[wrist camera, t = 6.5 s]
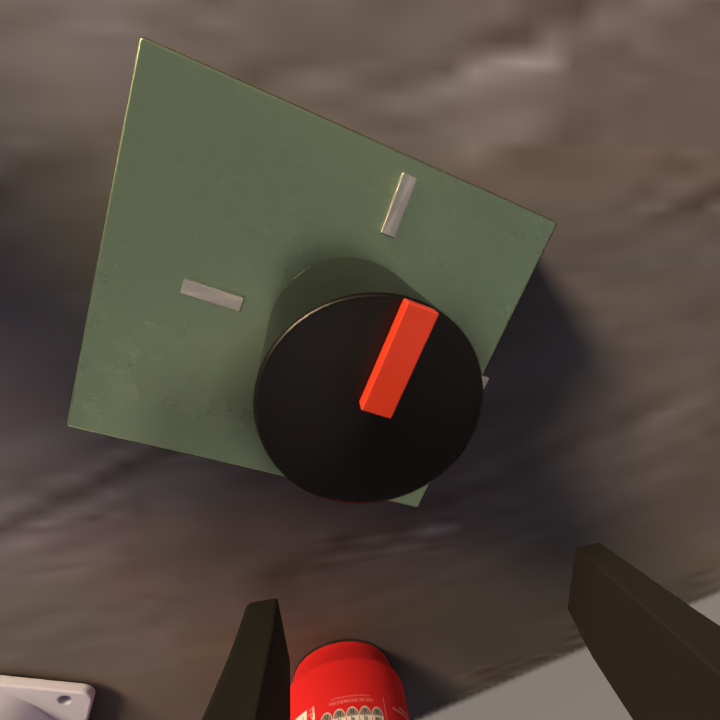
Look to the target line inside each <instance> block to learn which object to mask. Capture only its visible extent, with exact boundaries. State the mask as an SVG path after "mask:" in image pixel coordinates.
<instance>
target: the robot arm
mask: <svg viewBox="0 0 720 720" xmlns="http://www.w3.org/2000/svg"><path fill="white" fill-rule="evenodd" d="M568 610H569V612H570V614H571V616H572V618H573V620H574V622H575V624H576V626H577V628H578V630H579V632H580V634H581V636H582V638H583V640H584V642H585V644H586V645H587V647H588V649H589V651H590V653H591V655H592V656H593V658H594V659H595V661H596V663H597V664H598V666H599V668H600V669H601V671H602V672H603V674H604V675H605V677H606V678H607V680H608V681H609V683H610V685H611V686H612V688H613V689H614V691H615V692H616V694H617V695H618V697H619V699H620V700H621V702H622V703H623V705H624V706H625V708H626V709H627V711H628V712H629V714H630V715H631V717H632V718H633V720H720V626H719V625H717V624H716V623H714V622H713V621H711V620H710V619H708V618H707V617H705V616H704V615H702V614H701V613H699V612H697V611H696V610H695V609H693V608H692V607H690V606H689V605H687V604H686V603H684V602H683V601H682V600H680V599H679V598H677V597H676V596H674V595H673V594H671V593H670V592H669V591H667V590H666V589H664V588H663V587H661V586H660V585H659V584H657V583H656V582H654V581H653V580H651V579H650V578H649V577H647V576H646V575H644V574H643V573H641V572H640V571H639V570H637V569H636V568H634V567H633V566H632V565H630V564H629V563H627V562H626V561H625V560H623V559H622V558H620V557H619V556H617V555H616V554H615V553H613V552H612V551H610V550H609V549H607V548H606V547H604V546H603V545H601V544H600V543H598V544H592V545H586V546H580V547H576V550H575V558H574V565H573V573H572V581H571V588H570V596H569V604H568ZM94 697H95V689H94V688H93V687H92V686H91V685H89V684H85V683H75V682H65V681H56V680H46V679H36V678H26V677H17V676H7V675H0V720H88V719H89V715H90V712H91V708H92V704H93V701H94ZM202 720H290V660H289V655H288V650H287V645H286V640H285V635H284V630H283V625H282V620H281V615H280V610H279V605H278V600H277V598H276V599H270V600H264V601H258V602H252V603H250V604H249V605H248V606H247V607H246V609H245V612H244V616H243V619H242V622H241V625H240V628H239V630H238V633H237V636H236V639H235V642H234V644H233V647H232V650H231V652H230V655H229V657H228V660H227V662H226V665H225V667H224V670H223V672H222V675H221V677H220V679H219V681H218V684H217V686H216V688H215V691H214V693H213V695H212V698H211V700H210V702H209V705H208V707H207V709H206V712H205V714H204V716H203V718H202Z"/></svg>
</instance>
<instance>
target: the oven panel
mask: <svg viewBox="0 0 720 720" xmlns="http://www.w3.org/2000/svg"><path fill="white" fill-rule="evenodd" d="M556 225H557V223H556V222H555V221H554V220H552V219H549V218H547V217H545V216H543V215H540V214H538V213H536V212H534V211H531V210H529V209H527V208H525V207H523V206H520V205H518V204H516V203H514V202H511V201H509V200H507V199H505V198H502V197H500V196H498V195H496V194H494V193H491V192H489V191H487V190H485V189H482V188H480V187H478V186H476V185H473V184H471V183H469V182H467V181H465V180H462V179H460V178H458V177H456V176H453V175H451V174H449V173H447V172H444V171H442V170H440V169H438V168H435V167H433V166H431V165H429V164H427V163H424V162H422V161H420V160H418V159H415V158H413V157H411V156H409V155H406V154H404V153H402V152H400V151H398V150H395V149H393V148H391V147H389V146H386V145H384V144H382V143H380V142H377V141H375V140H373V139H371V138H368V137H366V136H364V135H362V134H360V133H357V132H355V131H353V130H351V129H348V128H346V127H344V126H342V125H339V124H337V123H335V122H333V121H331V120H328V119H326V118H324V117H322V116H319V115H317V114H315V113H313V112H310V111H308V110H306V109H304V108H302V107H299V106H297V105H295V104H293V103H290V102H288V101H286V100H284V99H281V98H279V97H277V96H275V95H272V94H270V93H268V92H266V91H264V90H261V89H259V88H257V87H255V86H252V85H250V84H248V83H246V82H243V81H241V80H239V79H237V78H235V77H232V76H230V75H228V74H226V73H223V72H221V71H219V70H217V69H214V68H212V67H210V66H208V65H205V64H203V63H201V62H199V61H197V60H194V59H192V58H190V57H188V56H185V55H183V54H181V53H179V52H176V51H174V50H172V49H170V48H168V47H165V46H163V45H161V44H159V43H156V42H154V41H152V40H150V39H147V38H145V37H141V38H140V40H139V44H138V49H137V54H136V59H135V65H134V70H133V75H132V80H131V86H130V91H129V96H128V101H127V107H126V112H125V117H124V122H123V128H122V133H121V138H120V143H119V149H118V154H117V159H116V164H115V170H114V175H113V180H112V185H111V191H110V196H109V201H108V206H107V212H106V217H105V222H104V227H103V233H102V238H101V243H100V248H99V254H98V259H97V264H96V269H95V275H94V280H93V285H92V290H91V296H90V301H89V306H88V311H87V317H86V322H85V327H84V332H83V338H82V343H81V348H80V353H79V359H78V364H77V369H76V375H75V380H74V385H73V390H72V396H71V401H70V406H69V411H68V417H67V422H66V425H67V426H69V427H73V428H77V429H82V430H86V431H90V432H94V433H99V434H103V435H107V436H112V437H116V438H120V439H124V440H129V441H133V442H137V443H142V444H146V445H150V446H155V447H159V448H163V449H167V450H172V451H176V452H180V453H185V454H189V455H193V456H197V457H202V458H206V459H210V460H215V461H219V462H223V463H228V464H232V465H236V466H240V467H245V468H249V469H253V470H258V471H262V472H266V473H271V474H275V475H279V476H283V477H286V476H284V475H283V474H282V473H281V471H280V470H279V469H278V468H277V467H276V466H275V465H274V464H273V462H272V461H271V460H270V458H269V457H268V455H267V454H266V452H265V450H264V448H263V446H262V444H261V442H260V440H259V437H258V434H257V431H256V428H255V422H254V417H253V395H254V386H255V382H256V377H257V373H258V368H259V364H260V360H261V355H262V351H263V346H264V342H265V337H266V333H267V328H268V324H269V320H270V316H271V312H272V310H273V308H274V305H275V303H276V301H277V300H278V298H279V296H280V295H281V293H282V292H283V291H284V289H285V288H286V287H287V286H288V285H289V284H290V283H291V282H292V281H293V280H294V279H295V278H296V277H298V276H299V275H300V274H302V273H303V272H304V271H306V270H308V269H310V268H312V267H314V266H316V265H319V264H321V263H324V262H328V261H332V260H339V259H359V260H364V261H369V262H372V263H375V264H378V265H380V266H383V267H385V268H387V269H388V270H390V271H391V272H393V273H395V274H396V275H397V276H399V277H400V278H401V279H402V280H403V281H405V282H406V283H407V284H408V285H410V286H411V287H412V288H413V289H415V290H416V291H417V292H418V293H420V294H421V295H422V296H423V297H424V298H426V299H427V300H428V301H429V302H431V303H432V304H433V305H434V306H436V307H437V308H438V309H439V310H441V311H442V312H443V313H444V314H445V315H447V316H448V317H449V318H450V319H451V320H452V321H453V322H455V323H456V324H457V325H458V327H459V328H460V329H461V330H462V331H463V333H464V334H465V335H466V337H467V338H468V340H469V341H470V343H471V345H472V346H473V348H474V351H475V353H476V356H477V358H478V361H479V365H480V368H481V372H482V381H483V389H484V388H485V386H486V384H487V382H488V380H489V378H488V377H487V376H485V375H483V373H484V371H485V369H486V367H487V365H488V363H489V361H490V359H491V357H492V355H493V353H494V351H495V349H496V347H497V345H498V343H499V341H500V339H501V337H502V335H503V333H504V331H505V329H506V327H507V325H508V323H509V321H510V319H511V317H512V315H513V312H514V310H515V308H516V306H517V304H518V302H519V300H520V298H521V296H522V294H523V292H524V290H525V288H526V286H527V284H528V282H529V280H530V278H531V276H532V274H533V272H534V270H535V268H536V266H537V264H538V262H539V260H540V258H541V256H542V254H543V252H544V249H545V247H546V245H547V243H548V241H549V239H550V237H551V235H552V233H553V231H554V229H555V227H556ZM428 485H429V484H427V485H426V486H424V487H422V488H420V489H418V490H416V491H414V492H412V493H410V494H407V495H404V496H402V497H399V498H395V499H391V500H388V501H391V502H395V503H399V504H404V505H408V506H412V507H418V506H419V504H420V502H421V500H422V497H423V495H424V493H425V491H426V489H427V487H428Z"/></svg>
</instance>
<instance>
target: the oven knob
mask: <svg viewBox="0 0 720 720" xmlns="http://www.w3.org/2000/svg"><path fill="white" fill-rule="evenodd" d="M482 402H483V381H482V372H481V368H480V365H479V361H478V358H477V356H476V353H475V351H474V348H473V346H472V345H471V343H470V341H469V340H468V338H467V337H466V335H465V334H464V333H463V331H462V330H461V329H460V328H459V327H458V325H457V324H456V323H455V322H453V321H452V320H451V319H450V318H449V317H448V316H447V315H445V314H444V313H443V312H442V311H441V310H439V309H438V308H437V307H436V306H434V305H433V304H432V303H431V302H429V301H428V300H427V299H426V298H424V297H423V296H422V295H421V294H420V293H418V292H417V291H416V290H415V289H413V288H412V287H411V286H410V285H408V284H407V283H406V282H405V281H403V280H402V279H401V278H400V277H399V276H397V275H396V274H395V273H393V272H391V271H390V270H388V269H387V268H385V267H383V266H380V265H378V264H375V263H372V262H369V261H364V260H359V259H339V260H332V261H328V262H324V263H321V264H319V265H316V266H314V267H312V268H310V269H308V270H306V271H304V272H303V273H302V274H300V275H299V276H298V277H296V278H295V279H294V280H293V281H292V282H291V283H290V284H289V285H288V286H287V287H286V288H285V289H284V291H283V292H282V293H281V295H280V296H279V298H278V300H277V301H276V303H275V305H274V308H273V310H272V312H271V316H270V320H269V324H268V328H267V333H266V337H265V342H264V346H263V351H262V355H261V360H260V364H259V368H258V373H257V377H256V382H255V386H254V395H253V417H254V422H255V428H256V431H257V434H258V437H259V440H260V442H261V444H262V446H263V448H264V450H265V452H266V454H267V455H268V457H269V458H270V460H271V461H272V462H273V464H274V465H275V466H276V467H277V468H278V469H279V470H280V471H281V473H282V474H283V475H284V476H286V477H287V478H288V479H289V480H291V481H292V482H293V483H294V484H296V485H297V486H299V487H301V488H302V489H304V490H306V491H308V492H310V493H312V494H314V495H317V496H319V497H322V498H326V499H329V500H333V501H338V502H344V503H357V504H362V503H376V502H382V501H388V500H391V499H395V498H399V497H402V496H404V495H407V494H410V493H412V492H414V491H416V490H418V489H420V488H422V487H424V486H426V485H427V484H429V483H430V482H432V481H433V480H435V479H436V478H438V477H439V476H440V475H441V474H442V473H444V472H445V471H446V470H447V469H448V468H449V467H450V466H451V465H452V464H453V463H454V462H455V461H456V460H457V459H458V457H459V456H460V455H461V453H462V452H463V451H464V449H465V448H466V446H467V445H468V443H469V441H470V440H471V438H472V435H473V433H474V431H475V429H476V427H477V423H478V420H479V417H480V414H481V408H482Z"/></svg>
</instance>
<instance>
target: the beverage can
mask: <svg viewBox="0 0 720 720" xmlns="http://www.w3.org/2000/svg"><path fill="white" fill-rule="evenodd" d="M290 720H410V718H409V713H408V709H407V704H406V699H405V695H404V690H403V685H402V682H401V680H400V678H399V676H398V675H397V673H396V672H395V671H394V670H393V668H392V667H391V666H390V664H389V662H388V659H387V657H386V655H385V654H384V652H383V651H382V650H381V649H379V648H378V647H376V646H375V645H373V644H370V643H368V642H364V641H359V640H341V641H335V642H331V643H328V644H325V645H322V646H320V647H318V648H316V649H314V650H313V651H311V652H310V653H309V654H307V655H306V656H305V657H304V658H303V659H302V660H301V661H300V663H299V664H298V666H297V668H296V670H295V673H294V679H293V682H292V684H291V686H290Z"/></svg>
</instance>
